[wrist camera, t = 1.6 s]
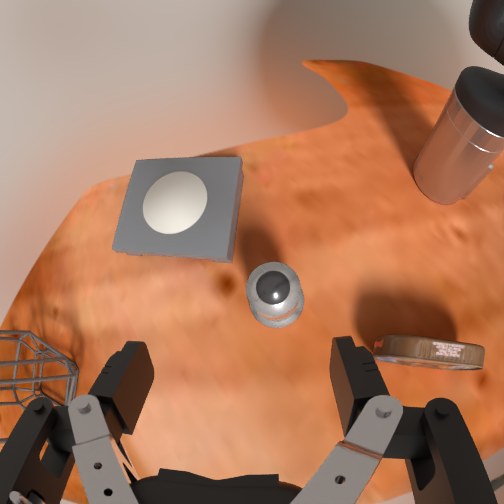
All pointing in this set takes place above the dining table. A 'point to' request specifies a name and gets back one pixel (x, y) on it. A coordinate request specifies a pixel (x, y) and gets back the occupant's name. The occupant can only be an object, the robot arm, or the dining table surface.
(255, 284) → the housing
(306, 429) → the dining table surface
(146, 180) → the stand
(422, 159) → the robot arm
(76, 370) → the geometric lantern
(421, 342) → the tin
